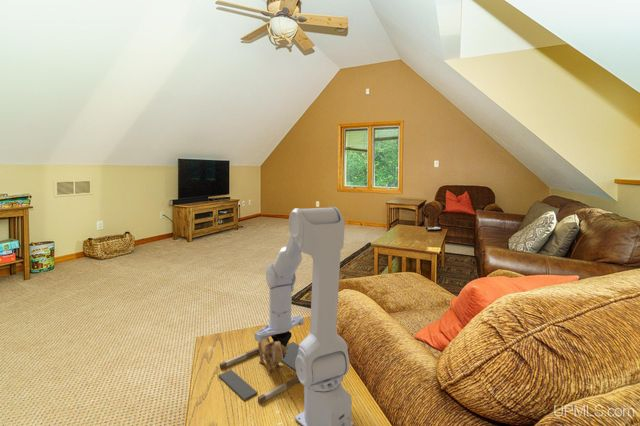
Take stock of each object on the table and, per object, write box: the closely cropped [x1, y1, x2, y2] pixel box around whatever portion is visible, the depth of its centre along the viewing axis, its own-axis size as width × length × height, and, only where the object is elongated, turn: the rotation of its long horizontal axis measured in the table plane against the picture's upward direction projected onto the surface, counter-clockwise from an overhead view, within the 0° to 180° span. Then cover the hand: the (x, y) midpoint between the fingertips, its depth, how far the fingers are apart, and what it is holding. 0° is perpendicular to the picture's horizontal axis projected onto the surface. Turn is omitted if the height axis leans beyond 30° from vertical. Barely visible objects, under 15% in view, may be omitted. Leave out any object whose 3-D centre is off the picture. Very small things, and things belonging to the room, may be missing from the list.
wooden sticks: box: [219, 340, 301, 404], centre depth 87 cm, size 18×22×1 cm
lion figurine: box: [257, 337, 289, 376], centre depth 87 cm, size 15×5×9 cm, turn 38°
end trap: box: [217, 369, 258, 401], centre depth 80 cm, size 12×4×1 cm, turn 44°
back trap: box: [280, 341, 299, 372], centre depth 92 cm, size 12×8×1 cm
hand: (280, 357), depth 89 cm, fingers closed
